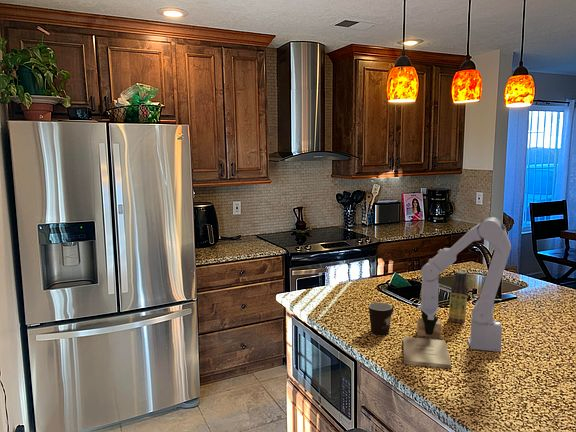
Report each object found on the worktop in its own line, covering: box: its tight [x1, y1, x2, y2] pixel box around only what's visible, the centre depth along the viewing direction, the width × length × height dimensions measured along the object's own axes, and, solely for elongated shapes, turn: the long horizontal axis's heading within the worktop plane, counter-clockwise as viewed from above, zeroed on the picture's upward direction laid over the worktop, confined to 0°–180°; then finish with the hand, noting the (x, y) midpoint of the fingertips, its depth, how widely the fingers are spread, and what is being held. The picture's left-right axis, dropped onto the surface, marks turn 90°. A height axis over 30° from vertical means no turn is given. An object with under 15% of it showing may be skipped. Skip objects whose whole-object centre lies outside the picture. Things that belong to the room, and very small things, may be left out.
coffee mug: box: [368, 301, 395, 337], centre depth 159 cm, size 12×9×10 cm
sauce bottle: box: [448, 270, 468, 324], centre depth 168 cm, size 6×6×20 cm
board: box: [402, 336, 452, 369], centre depth 142 cm, size 14×18×1 cm
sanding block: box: [416, 318, 442, 340], centre depth 155 cm, size 8×4×6 cm, turn 76°
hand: (428, 331), depth 156 cm, fingers open, 4 cm apart
